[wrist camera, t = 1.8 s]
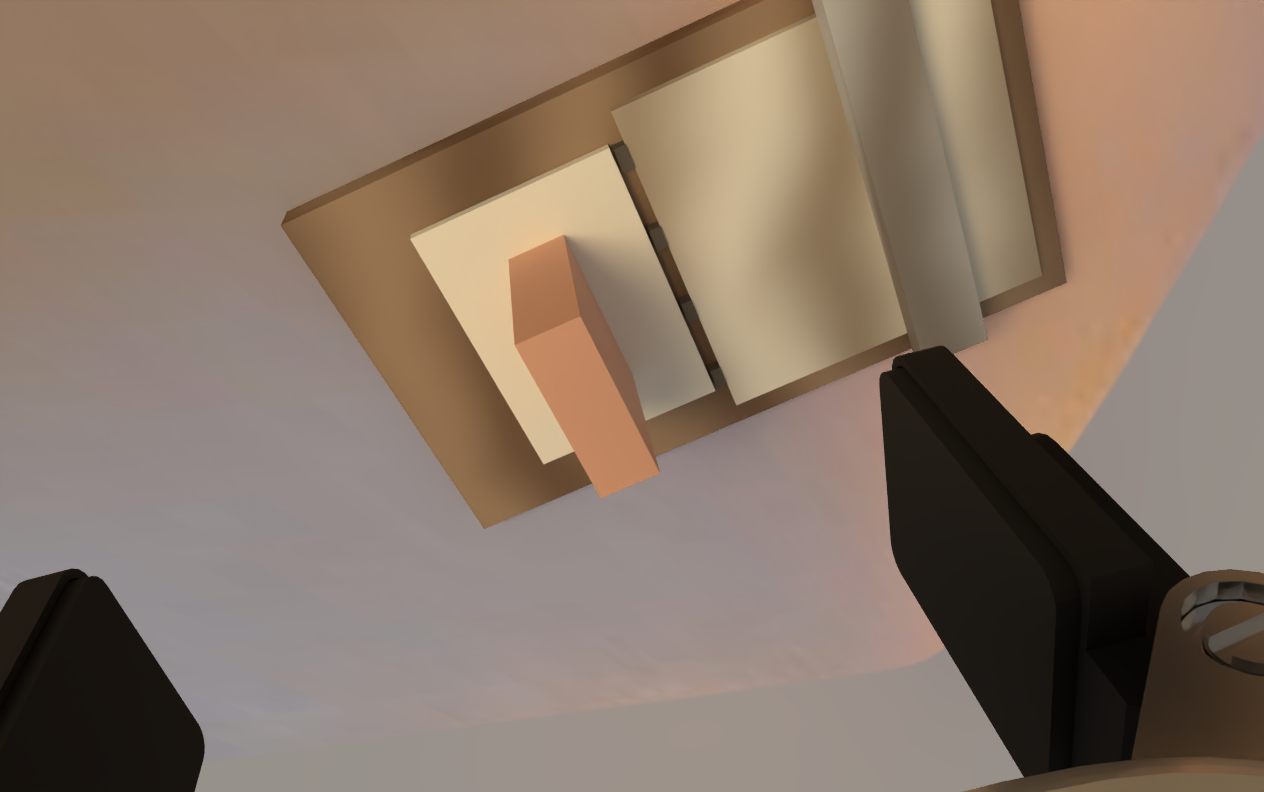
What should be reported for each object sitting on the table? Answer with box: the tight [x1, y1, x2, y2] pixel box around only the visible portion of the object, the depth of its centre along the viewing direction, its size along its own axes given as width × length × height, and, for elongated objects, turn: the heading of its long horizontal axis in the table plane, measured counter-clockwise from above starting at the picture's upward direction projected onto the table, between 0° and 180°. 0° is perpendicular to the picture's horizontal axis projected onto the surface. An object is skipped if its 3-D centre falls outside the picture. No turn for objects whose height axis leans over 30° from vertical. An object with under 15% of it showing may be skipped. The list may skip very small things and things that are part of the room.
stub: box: [410, 144, 715, 498], centre depth 31 cm, size 7×10×6 cm
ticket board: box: [281, 0, 1067, 529], centre depth 33 cm, size 24×14×3 cm, turn 113°
